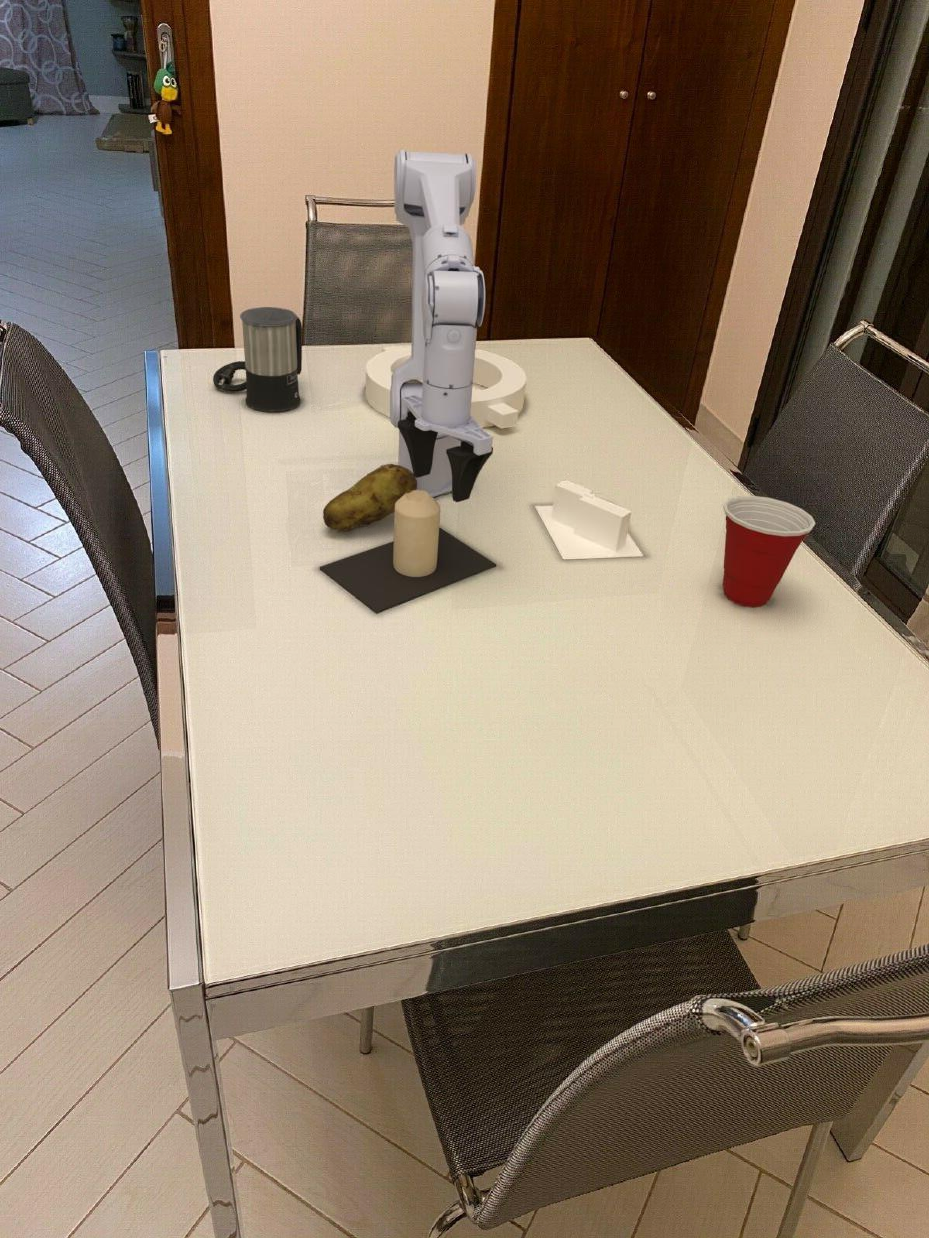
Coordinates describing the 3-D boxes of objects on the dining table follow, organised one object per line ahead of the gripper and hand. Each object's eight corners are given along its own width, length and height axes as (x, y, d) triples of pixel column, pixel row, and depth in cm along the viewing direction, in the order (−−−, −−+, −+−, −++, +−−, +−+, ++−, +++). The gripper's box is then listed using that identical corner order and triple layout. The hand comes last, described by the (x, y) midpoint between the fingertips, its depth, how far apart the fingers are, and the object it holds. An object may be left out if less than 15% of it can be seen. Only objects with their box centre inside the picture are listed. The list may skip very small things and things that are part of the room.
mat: (437, 527, 128) (437, 525, 128) (496, 566, 121) (496, 564, 120) (319, 568, 117) (319, 566, 117) (376, 613, 110) (376, 611, 110)
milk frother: (295, 415, 156) (293, 326, 147) (200, 408, 155) (191, 318, 147) (308, 384, 167) (306, 300, 159) (219, 378, 167) (212, 293, 158)
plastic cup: (791, 583, 122) (817, 501, 115) (787, 627, 114) (815, 540, 107) (707, 564, 125) (728, 483, 118) (697, 605, 116) (719, 520, 109)
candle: (431, 580, 116) (435, 508, 110) (387, 573, 117) (390, 501, 111) (440, 558, 120) (445, 488, 115) (399, 552, 121) (401, 481, 115)
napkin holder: (645, 556, 125) (652, 518, 122) (563, 560, 123) (569, 521, 120) (608, 503, 137) (614, 467, 134) (533, 506, 135) (538, 469, 132)
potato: (318, 510, 129) (318, 457, 125) (411, 507, 132) (413, 454, 128) (324, 541, 123) (324, 485, 118) (421, 536, 125) (424, 482, 121)
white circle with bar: (383, 362, 179) (384, 337, 177) (529, 379, 177) (532, 354, 175) (349, 418, 156) (349, 390, 154) (515, 438, 154) (518, 410, 152)
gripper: (381, 366, 109) (379, 472, 117) (462, 408, 101) (454, 519, 108) (429, 356, 113) (424, 459, 121) (510, 395, 105) (499, 504, 112)
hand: (441, 487), depth 115 cm, fingers open, 7 cm apart
